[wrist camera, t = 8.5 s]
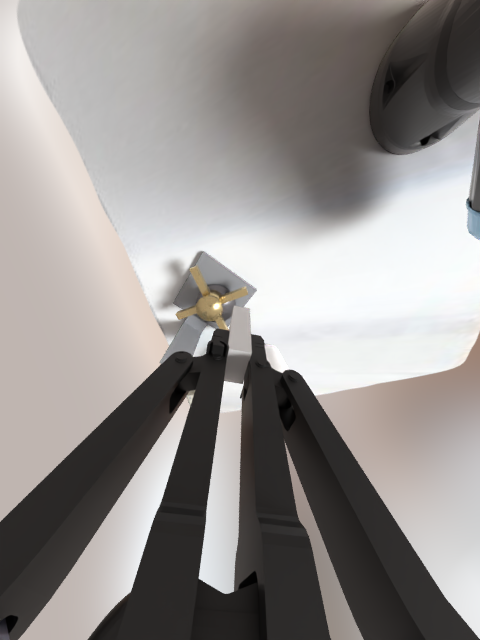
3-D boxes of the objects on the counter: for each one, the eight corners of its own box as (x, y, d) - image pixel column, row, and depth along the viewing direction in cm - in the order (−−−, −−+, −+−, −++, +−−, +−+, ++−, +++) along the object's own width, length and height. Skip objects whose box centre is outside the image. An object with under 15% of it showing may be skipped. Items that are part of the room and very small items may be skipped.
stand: (203, 251, 38) (185, 263, 25) (256, 288, 41) (262, 315, 29) (162, 321, 45) (133, 356, 33) (210, 347, 49) (199, 388, 37)
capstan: (164, 277, 39) (150, 286, 33) (232, 249, 36) (231, 253, 30) (200, 338, 46) (194, 355, 40) (259, 319, 43) (262, 334, 37)
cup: (245, 360, 51) (246, 395, 40) (259, 335, 47) (265, 367, 36) (273, 369, 53) (281, 406, 42) (289, 347, 49) (302, 380, 38)
